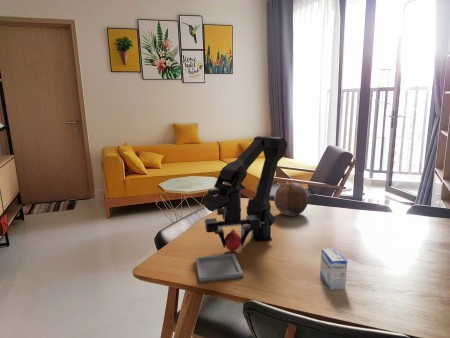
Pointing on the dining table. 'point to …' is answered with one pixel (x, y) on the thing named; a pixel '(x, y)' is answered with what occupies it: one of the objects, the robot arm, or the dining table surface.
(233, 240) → the onion
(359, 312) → the dining table surface
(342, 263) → the medicine box
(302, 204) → the wooden sphere
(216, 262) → the dish
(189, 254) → the dining table surface
